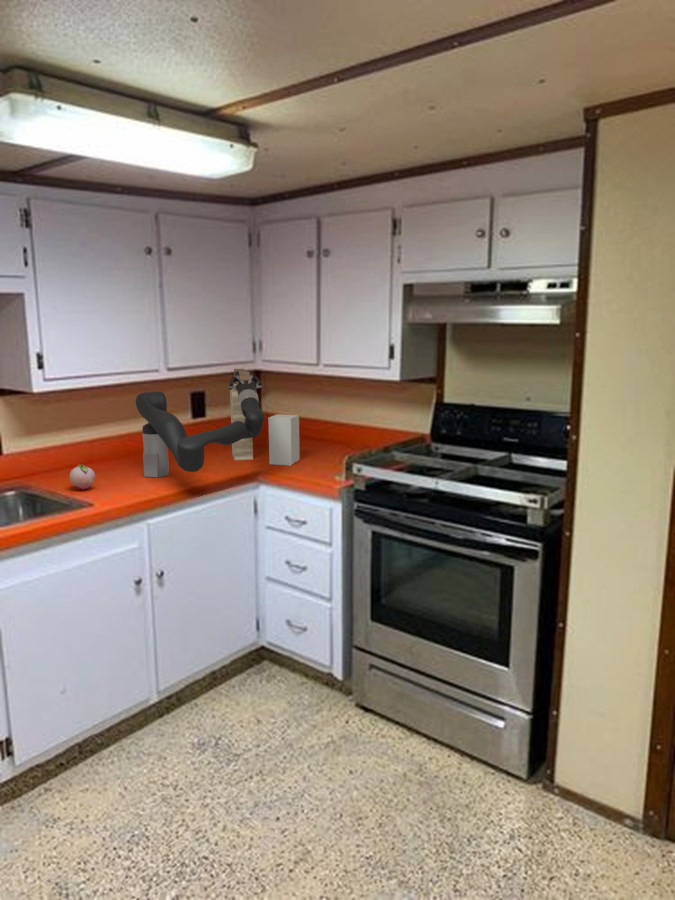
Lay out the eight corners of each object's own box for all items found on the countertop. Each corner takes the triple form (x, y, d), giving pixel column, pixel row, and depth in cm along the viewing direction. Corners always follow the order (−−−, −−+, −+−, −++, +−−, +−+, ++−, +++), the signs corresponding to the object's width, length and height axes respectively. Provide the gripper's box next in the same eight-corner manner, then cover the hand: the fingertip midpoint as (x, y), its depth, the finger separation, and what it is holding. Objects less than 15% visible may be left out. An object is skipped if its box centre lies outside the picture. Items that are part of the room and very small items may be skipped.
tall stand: (253, 459, 302) (250, 386, 295) (234, 460, 300) (232, 387, 293) (250, 453, 313) (247, 383, 307) (232, 454, 311) (229, 384, 305)
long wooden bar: (250, 382, 279) (249, 372, 279) (240, 382, 278) (239, 372, 278) (243, 377, 299) (243, 368, 299) (234, 378, 298) (234, 368, 298)
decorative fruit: (66, 489, 252) (64, 463, 250) (87, 485, 258) (85, 459, 256) (77, 494, 246) (75, 467, 244) (99, 490, 252) (97, 463, 250)
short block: (291, 465, 290) (290, 418, 286) (269, 464, 292) (268, 417, 288) (299, 460, 299) (298, 415, 295) (278, 459, 302) (277, 414, 298)
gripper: (229, 405, 273) (225, 380, 285) (265, 404, 276) (259, 379, 289) (230, 390, 268) (225, 365, 280) (266, 389, 271) (260, 364, 284)
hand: (242, 372), depth 284 cm, fingers closed on long wooden bar, 4 cm apart
